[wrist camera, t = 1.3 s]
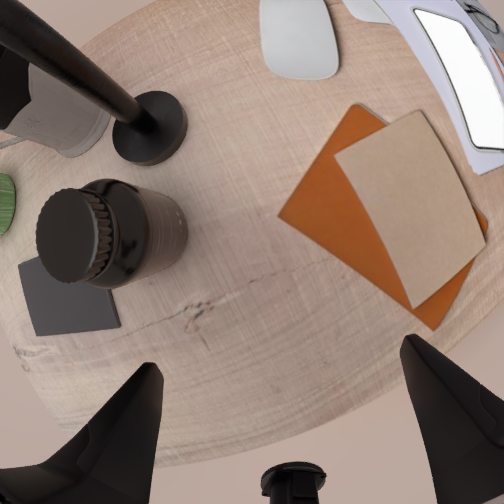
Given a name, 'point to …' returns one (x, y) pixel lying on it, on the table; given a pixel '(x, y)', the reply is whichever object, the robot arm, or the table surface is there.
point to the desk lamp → (97, 87)
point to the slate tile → (64, 303)
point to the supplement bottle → (109, 234)
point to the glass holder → (45, 109)
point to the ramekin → (6, 202)
